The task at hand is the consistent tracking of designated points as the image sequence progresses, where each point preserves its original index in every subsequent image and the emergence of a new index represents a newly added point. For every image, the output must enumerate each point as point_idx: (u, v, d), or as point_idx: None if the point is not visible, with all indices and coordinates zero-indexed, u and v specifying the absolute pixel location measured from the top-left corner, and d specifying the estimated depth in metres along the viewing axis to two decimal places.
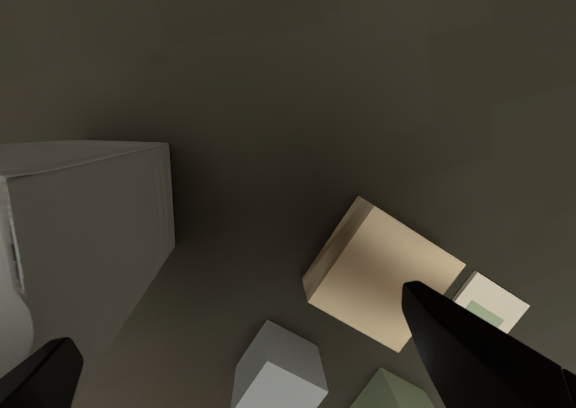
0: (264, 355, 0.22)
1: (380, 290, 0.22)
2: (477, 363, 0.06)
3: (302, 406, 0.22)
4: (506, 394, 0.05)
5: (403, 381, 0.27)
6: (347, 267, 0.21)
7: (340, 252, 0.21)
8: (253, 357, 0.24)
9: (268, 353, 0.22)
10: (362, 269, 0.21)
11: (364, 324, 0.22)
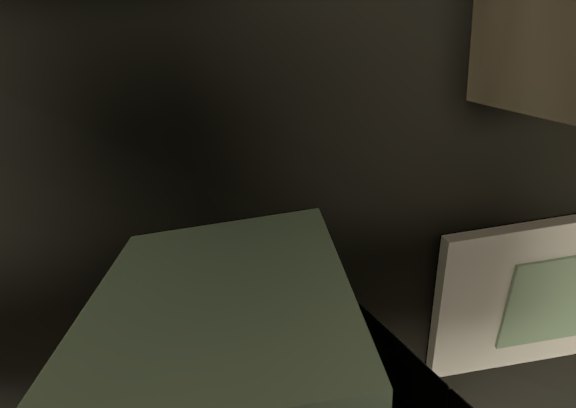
0: None
1: None
2: None
3: None
4: None
5: None
6: None
7: None
8: None
9: None
10: None
11: None
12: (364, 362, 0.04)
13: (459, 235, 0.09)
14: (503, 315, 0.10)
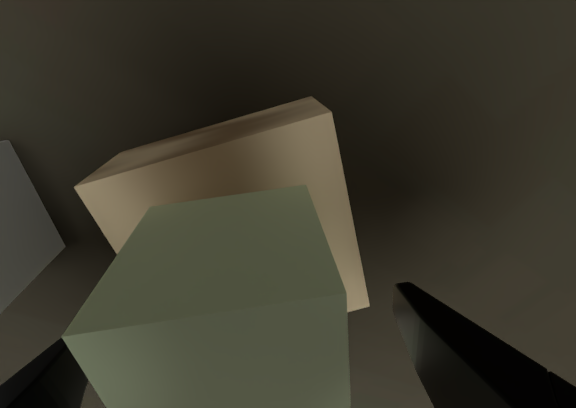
0: None
1: None
2: (464, 365, 0.06)
3: None
4: (492, 397, 0.05)
5: None
6: (197, 181, 0.10)
7: (206, 145, 0.09)
8: None
9: None
10: None
11: None
12: (329, 279, 0.06)
13: None
14: None
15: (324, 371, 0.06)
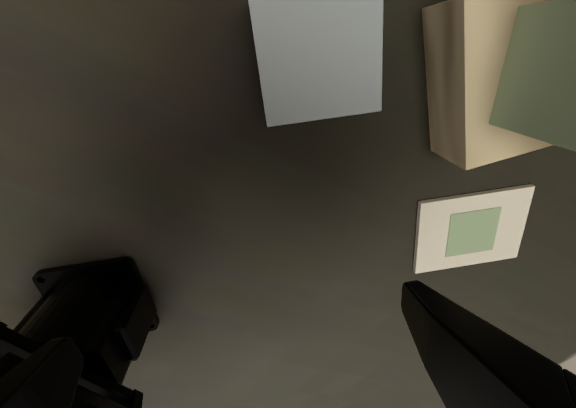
0: None
1: None
2: (477, 363, 0.06)
3: (338, 94, 0.13)
4: (506, 394, 0.05)
5: None
6: None
7: None
8: None
9: None
10: None
11: (477, 100, 0.15)
12: None
13: (425, 200, 0.21)
14: (447, 239, 0.22)
15: None
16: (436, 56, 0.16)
